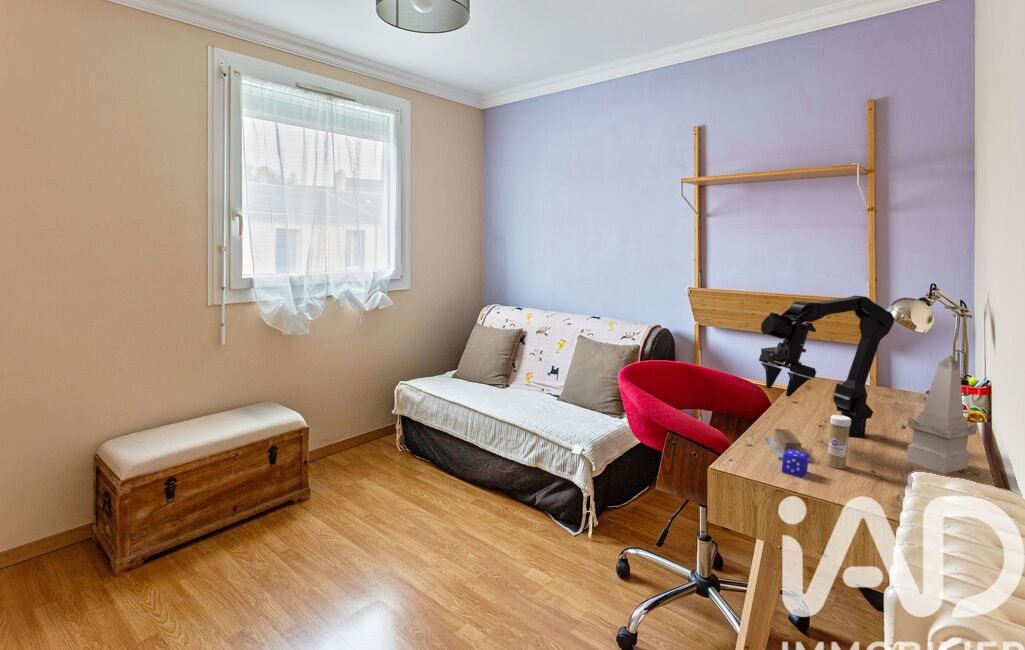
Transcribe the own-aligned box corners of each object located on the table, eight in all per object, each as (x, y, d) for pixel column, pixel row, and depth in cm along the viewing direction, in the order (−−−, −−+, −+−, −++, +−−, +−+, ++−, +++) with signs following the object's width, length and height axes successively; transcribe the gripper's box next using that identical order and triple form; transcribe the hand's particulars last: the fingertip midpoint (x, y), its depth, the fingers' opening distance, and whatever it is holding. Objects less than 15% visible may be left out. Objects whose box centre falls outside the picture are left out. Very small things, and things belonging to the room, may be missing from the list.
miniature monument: (970, 469, 144) (986, 357, 140) (944, 474, 140) (959, 359, 136) (928, 455, 154) (941, 350, 150) (903, 459, 150) (916, 352, 146)
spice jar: (824, 466, 145) (829, 417, 143) (828, 461, 148) (832, 413, 146) (844, 470, 142) (849, 420, 140) (847, 465, 145) (852, 416, 143)
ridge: (793, 442, 163) (795, 428, 162) (810, 462, 147) (811, 447, 147) (764, 439, 164) (765, 425, 164) (778, 459, 149) (779, 444, 148)
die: (786, 466, 144) (787, 448, 144) (807, 471, 141) (809, 453, 141) (781, 472, 140) (783, 453, 140) (803, 477, 137) (804, 458, 137)
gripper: (751, 331, 171) (736, 378, 172) (791, 341, 152) (774, 394, 154) (782, 339, 173) (767, 386, 174) (825, 350, 155) (807, 403, 156)
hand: (777, 392), depth 165 cm, fingers open, 9 cm apart
